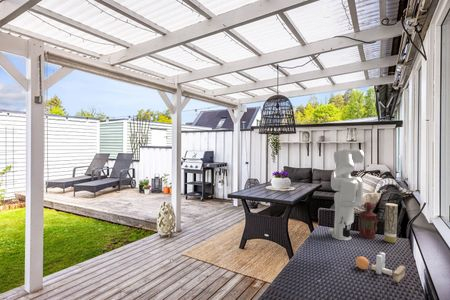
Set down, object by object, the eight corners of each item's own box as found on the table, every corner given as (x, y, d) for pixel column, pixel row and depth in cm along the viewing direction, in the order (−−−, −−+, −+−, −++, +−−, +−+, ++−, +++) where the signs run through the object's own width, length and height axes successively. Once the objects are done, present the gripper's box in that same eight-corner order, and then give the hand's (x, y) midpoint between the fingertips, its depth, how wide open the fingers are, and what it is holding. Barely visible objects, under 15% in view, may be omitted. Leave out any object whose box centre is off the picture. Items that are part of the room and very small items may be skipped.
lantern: (373, 240, 175) (374, 196, 175) (354, 235, 184) (356, 193, 184) (379, 236, 183) (381, 194, 183) (361, 232, 192) (363, 191, 192)
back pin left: (378, 270, 130) (379, 253, 130) (379, 268, 132) (380, 251, 132) (383, 271, 128) (384, 254, 128) (385, 270, 130) (385, 253, 130)
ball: (367, 273, 127) (360, 270, 132) (374, 263, 128) (367, 261, 134) (357, 263, 127) (351, 262, 133) (364, 254, 129) (358, 253, 135)
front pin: (371, 265, 130) (390, 271, 124) (372, 263, 131) (392, 269, 125) (371, 270, 130) (390, 276, 124) (373, 268, 132) (392, 274, 125)
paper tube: (392, 243, 169) (393, 205, 169) (381, 240, 175) (383, 203, 175) (398, 242, 172) (399, 205, 172) (387, 239, 178) (389, 202, 178)
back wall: (393, 281, 119) (393, 272, 119) (400, 273, 127) (400, 265, 127) (398, 282, 117) (398, 274, 117) (404, 274, 126) (405, 266, 126)
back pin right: (375, 272, 126) (375, 255, 126) (376, 271, 128) (377, 254, 128) (380, 274, 125) (381, 257, 125) (382, 273, 126) (382, 256, 126)
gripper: (346, 200, 148) (344, 231, 149) (334, 203, 138) (333, 237, 139) (359, 202, 143) (358, 235, 144) (349, 206, 133) (347, 241, 133)
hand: (346, 236), depth 141 cm, fingers closed
